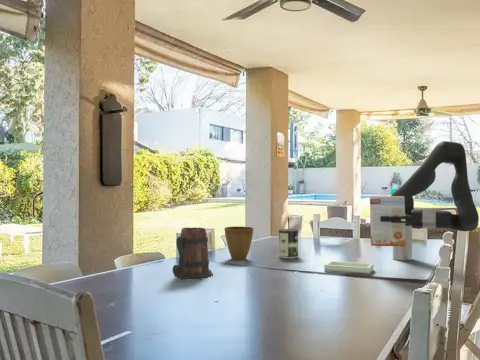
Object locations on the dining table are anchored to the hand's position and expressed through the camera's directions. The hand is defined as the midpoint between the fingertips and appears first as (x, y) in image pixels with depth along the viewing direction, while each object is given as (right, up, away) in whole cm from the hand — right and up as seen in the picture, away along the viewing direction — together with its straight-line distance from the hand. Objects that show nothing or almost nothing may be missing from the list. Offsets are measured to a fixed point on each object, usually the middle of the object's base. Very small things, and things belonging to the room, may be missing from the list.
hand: (381, 218), depth 197 cm
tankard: (-81, -24, -4) cm, 85 cm away
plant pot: (-61, -24, +40) cm, 77 cm away
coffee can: (-35, -24, +45) cm, 62 cm away
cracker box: (+2, -12, -1) cm, 12 cm away
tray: (-13, -24, +6) cm, 27 cm away
